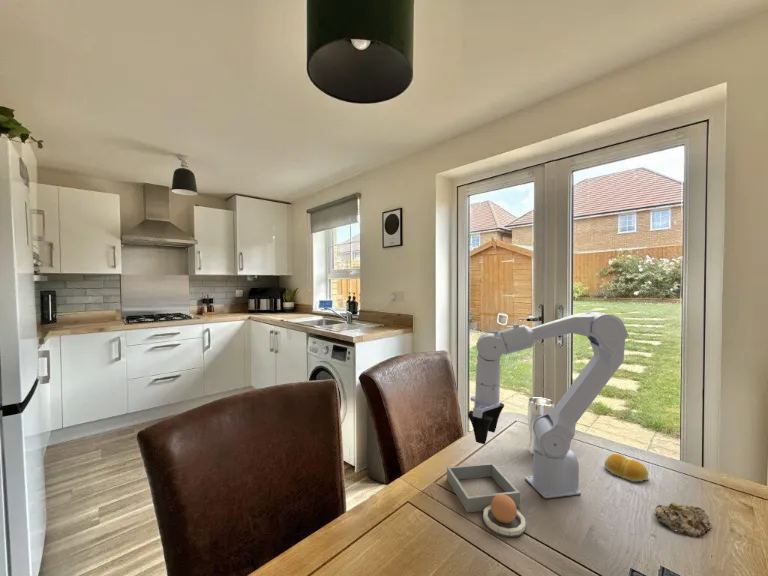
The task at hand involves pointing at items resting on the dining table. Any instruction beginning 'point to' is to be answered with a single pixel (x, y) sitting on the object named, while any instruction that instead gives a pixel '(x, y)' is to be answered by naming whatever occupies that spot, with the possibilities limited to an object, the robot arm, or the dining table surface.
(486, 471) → the low pen
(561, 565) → the dining table surface
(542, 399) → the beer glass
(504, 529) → the ring
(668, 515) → the mineral rock
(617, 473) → the bread roll
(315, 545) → the dining table surface
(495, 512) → the orange ball
